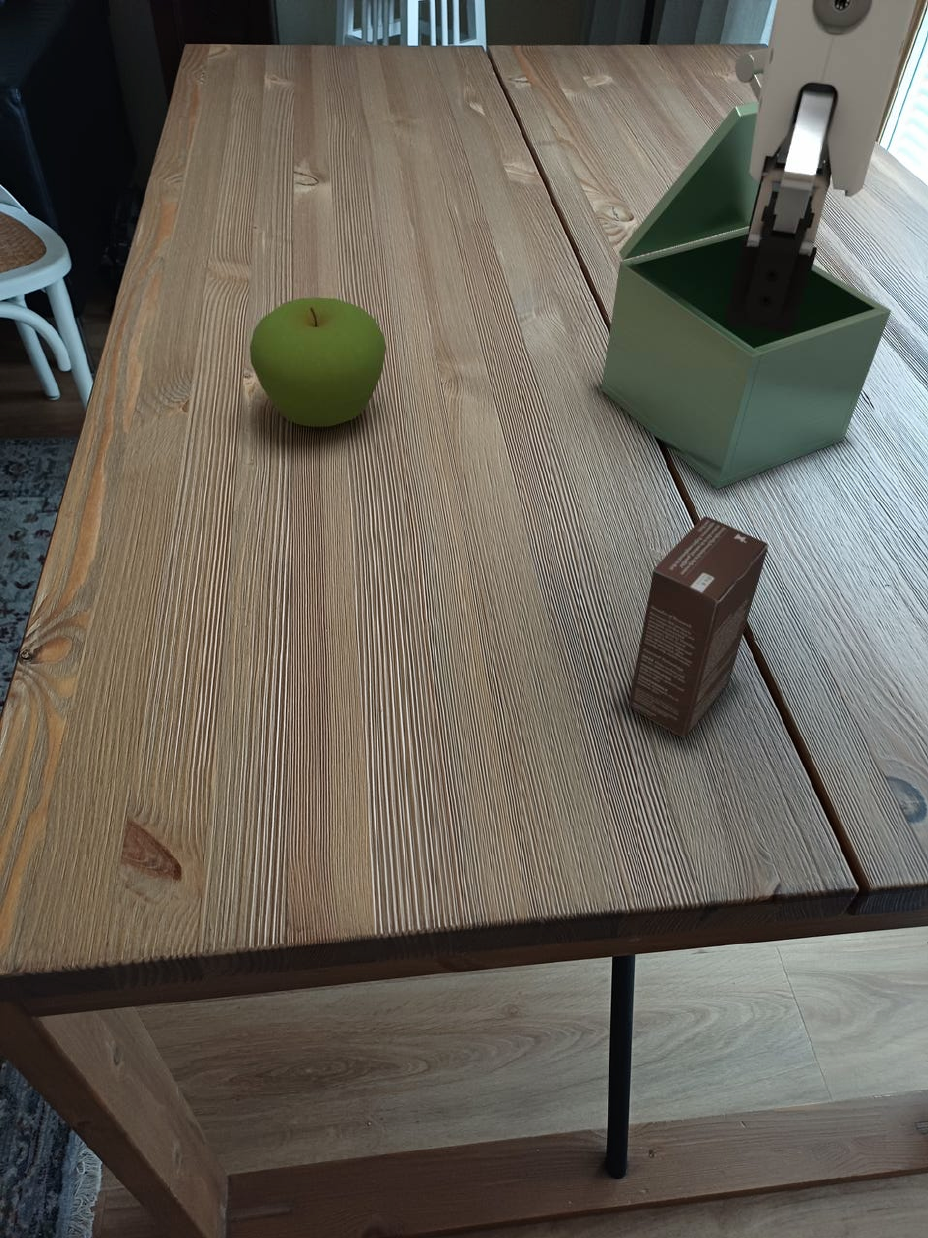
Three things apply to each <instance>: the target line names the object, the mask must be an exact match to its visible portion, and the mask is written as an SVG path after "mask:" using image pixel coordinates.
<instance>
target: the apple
mask: <svg viewBox="0 0 928 1238" xmlns="http://www.w3.org/2000/svg"><path fill="white" fill-rule="evenodd" d="M252 332H253V333H252V337H251V342H250V346H249V354H250V364H251V366H252V368H253V370H254V372H255V373H254V374H255V375H256V377H257V379H258V381H259V384H260V386H261V388H262V389H263V391H264V392H265V394H266V395H267V396H268V398H269V400H270V401H271V402H272V404H273V405H274V407H275V408H276V410H277V411H278V412H279V414H281V415H282V416H283V417H284V418H285V419H286V420H287V421H288V422H291V423H293V424H298V425H301V426H305V427H312V428H328V427H333V426H337V425H339V424H342V423H346V422H348V421H351V420H354V419H355V418H357V417H358V416H360V415H361V414H362V413H363V412H365V410H366V408H367V406H368V404H369V402H370V400H371V398H372V396H373V394H374V392H375V390H376V388H377V386H378V383H379V382H380V379H381V376H382V373H383V368H384V362H385V357H386V353H387V345H386V341H385V337H384V333H383V332H382V330H381V329H380V326H379V325H378V323H377V321H376V319H375V318H374V317H373V316H372V315H370V314H369V313H368V312H367V311H366V310H365V309H364V308H362V307H361V306H358V305H355V304H353V303H350V302H347V301H345V300H341V299H338V298H334V297H331V298H330V297H302V298H301V297H300V298H296V299H293V300H289V301H284V302H283V303H282V304H280V305H279V306H278V307H276V308H274V309H273V310H272V311H271V312H269V313H268V314H266V315H265V316H264V317H262V318H261V319H260V320H259V322H258V323H257V325H256V326H255V327H254V329H253V331H252Z"/></svg>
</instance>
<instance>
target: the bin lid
mask: <svg viewBox="0 0 928 1238" xmlns="http://www.w3.org/2000/svg"><path fill="white" fill-rule="evenodd" d="M767 49H768V47H766V48H762V49H761V48H760V49H756V50H751V51H745V52H742V53H741V54H740V55H739V56H738V57H737V59H736V61H735V67H734V68H735V69H734V70H735V76H736V78H737V80H738V81H739V82H741V83H742V84H749V86H750V88H751V91H752V92H753V95H754V96H755V98H756V101H754V102H748V103H745V104H739V105H735V106H734V107H733V108H732V110H730V112H729V113H728V114H727V115H726V117H725V118H724V119H723V121H721V124H719V126H718V127H717V128H716V129H715V131H714V132H713V133H712V135H711V136H710V137H709V138H708V140H707V141H706V142H705V143H704V145H703V146H701V148H700V149H699V150H698V151H697V153H696V154H695V156H694V157H693V158H692V159H691V160H690V161H689V163H688V165H687V166H686V167H685V168H684V170H682V172H681V173H680V174H679V175H678V177H677V178H676V179H675V181H674V182H673V183H672V184H671V186H670V187H669V188H668V189H667V191H666V192H665V193H664V195H663V196H662V197H661V198H660V199H659V201H658V202H657V203H656V204H655V206H654V207H653V208H652V209H651V211H650V212H649V213H648V215H646V217H645V218H644V220H643V221H642V222H641V223H640V224H639V226H638V227H637V228H636V230H635V231H634V232H633V233H632V235H631V236H630V237H629V238H628V239H627V241H626V242H625V243H624V244H623V246H622V247H621V248H620V250H619V251H618V253H619V256H620V257H621V260H622V261H626V260H630V259H634V258H637V257H641V256H645V255H649V254H652V253H656V252H660V251H663V250H667V249H671V248H675V247H678V246H682V245H686V244H690V243H693V242H697V241H701V240H704V239H708V238H712V237H716V236H719V235H723V234H727V233H730V232H734V231H738V230H742V229H745V228H749V225H750V221H751V217H752V212H753V208H754V204H755V199H756V195H757V191H758V187H759V184H758V183H757V182H756V181H755V180H754V179H753V177H752V176H751V174H750V173H749V171H750V163H751V155H752V146H753V139H754V132H755V125H756V118H757V110H758V103H759V97H760V91H761V84H762V78H763V72H764V66H765V60H766V55H767ZM893 85H894V82H893V83H892V86H893ZM777 156H779V154H778V155H777Z"/></svg>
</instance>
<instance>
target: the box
mask: <svg viewBox="0 0 928 1238" xmlns="http://www.w3.org/2000/svg"><path fill="white" fill-rule="evenodd" d="M769 546H770V545H769V544H768V543H767V542H765V541H763V540H761V539H759V538H757V537H754V536H752V535H749V534H747V533H746V532H743V531H741V530H738V529H736V528H734V527H732V526H730V525H727V524H725V523H723V522H721V521H718V520H716V519H714V518H712V517H709V516H703V517H702V518H701V519H700V520H699V521H698V522H697V524H695V525H694V526H693V527H692V528H691V529H690V530H689V531H688V533H686V534H685V535H684V536H683V538H682V539H681V540H679V542H678V543H677V544H676V545H675V546H674V547H673V548H672V549H671V550H670V551H669V552H668V553H667V554H666V555H665V556H664V557H663V558H662V559H661V561H660V562H658V563H657V564H656V566H655V567H654V568H653V569H652V576H651V580H650V587H649V593H648V598H647V603H646V608H645V614H644V619H643V625H642V630H641V636H640V642H639V647H638V652H637V658H636V662H635V668H634V673H633V677H632V678H633V679H632V684H631V689H630V692H629V693H630V695H629V701H628V707H629V708H631V709H633V710H634V711H635V712H637V713H638V714H640V715H642V716H644V717H645V718H647V719H648V720H650V721H652V722H654V723H655V724H656V725H658V726H660V727H662V728H664V729H665V730H667V731H670V732H671V733H673V734H674V735H677V736H678V737H681V738H682V739H685V738H687V736H688V735H689V734H690V733H691V732H692V731H693V730H694V728H695V727H696V726H697V724H698V723H699V722H700V720H701V719H702V718H703V717H704V715H706V714H707V712H708V711H709V709H710V708H711V707H712V706H713V704H714V703H715V702H716V701H717V699H718V698H720V695H721V694H722V693H723V691H725V689H726V688H727V686H728V685H729V684H730V681H731V677H732V673H733V670H734V667H735V664H736V660H737V657H738V653H739V649H740V646H741V642H742V639H743V635H744V632H745V629H746V625H747V622H748V619H749V614H750V612H751V608H752V604H753V601H754V598H755V594H756V591H757V587H758V584H759V582H760V577H761V573H762V571H763V567H764V563H765V560H766V558H767V557H766V556H767V553H768V550H769Z"/></svg>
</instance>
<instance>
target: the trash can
mask: <svg viewBox="0 0 928 1238" xmlns="http://www.w3.org/2000/svg"><path fill="white" fill-rule="evenodd" d="M749 234H750V233H749V227H745V228H741V229H738V230H734V231H730V232H726V233H723V234H719V235H715V236H712V237H708V238H704V239H700V240H697V241H693V242H689V243H685V244H682V245H678V246H674V247H671V248H667V249H663V250H659V251H656V252H652V253H648V254H644V255H641V256H637V257H633V258H629V259H626V260H622V261H619V265H618V274H617V279H616V286H615V293H614V301H613V306H612V307H613V308H612V314H611V322H610V328H609V336H608V342H607V349H606V356H605V363H604V368H603V377H602V384H601V389H600V390H601V391H602V392H603V393H604V395H606V396H608V398H610V399H611V400H612V401H613V402H615V403H616V404H617V405H618V406H619V407H620V408H621V409H623V410H624V411H625V412H626V413H627V414H628V415H630V416H631V417H632V418H633V419H634V420H635V421H637V422H638V423H639V424H640V425H641V426H642V427H644V428H645V430H647V431H648V432H650V433H651V435H653V436H654V437H655V438H656V439H658V440H659V441H660V442H661V443H662V444H663V445H664V446H665V447H666V448H668V449H669V450H670V451H671V452H673V453H674V454H675V455H676V456H677V457H678V458H680V459H681V460H682V461H683V462H684V463H685V464H686V465H688V466H689V467H690V468H691V469H692V470H693V471H695V472H696V473H697V474H698V475H700V476H701V477H702V478H703V479H704V480H705V481H706V482H708V483H709V484H710V485H711V486H713V487H714V489H716V490H720V489H721V488H724V487H726V486H729V485H733V484H735V483H738V482H740V481H743V480H745V479H748V478H751V477H752V476H753V477H754V476H755V475H758V474H760V473H763V472H766V471H768V470H771V469H773V468H776V467H779V466H781V465H783V464H786V463H788V462H791V461H794V460H796V459H799V458H802V457H805V456H807V455H809V454H812V453H814V452H817V451H819V450H822V449H825V448H827V447H830V446H832V445H835V444H838V443H840V442H842V441H843V442H844V440H845V437H846V434H847V431H848V428H849V426H850V423H851V420H852V418H853V415H854V413H855V410H856V407H857V404H858V401H859V399H860V396H861V394H862V391H863V388H864V386H865V384H866V383H865V382H866V380H867V377H868V375H869V372H870V369H871V367H872V364H873V361H874V358H875V355H876V353H877V351H878V348H879V345H880V343H881V339H882V337H883V334H884V332H885V328H886V326H887V324H888V320H889V317H890V315H891V312H892V310H891V309H890V308H888V307H886V306H885V305H883V304H881V303H880V302H879V301H876V300H874V299H873V298H871V297H869V296H868V295H866V294H864V293H863V292H861V291H859V290H858V289H856V288H854V287H853V286H852V285H849V284H848V283H846V282H845V281H843V280H841V279H840V278H837V277H836V276H835V275H833V274H831V273H829V272H828V271H826V270H824V269H822V268H821V267H819V266H818V265H816V264H814V263H813V266H812V269H811V273H810V276H809V280H808V283H807V287H806V290H805V294H804V297H803V301H802V304H801V307H800V311H799V314H798V318H797V321H796V325H795V328H794V330H793V331H792V332H790V333H788V334H782V333H777V332H771V331H765V330H759V329H753V328H748V327H742V326H736V325H731V324H729V323H727V322H726V320H725V314H726V309H727V305H728V301H729V296H730V292H731V288H732V283H733V279H734V275H735V270H736V266H737V262H738V257H739V253H740V249H741V244H742V240H743V237H744V236H746V237H749ZM761 239H762V238H761Z"/></svg>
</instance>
